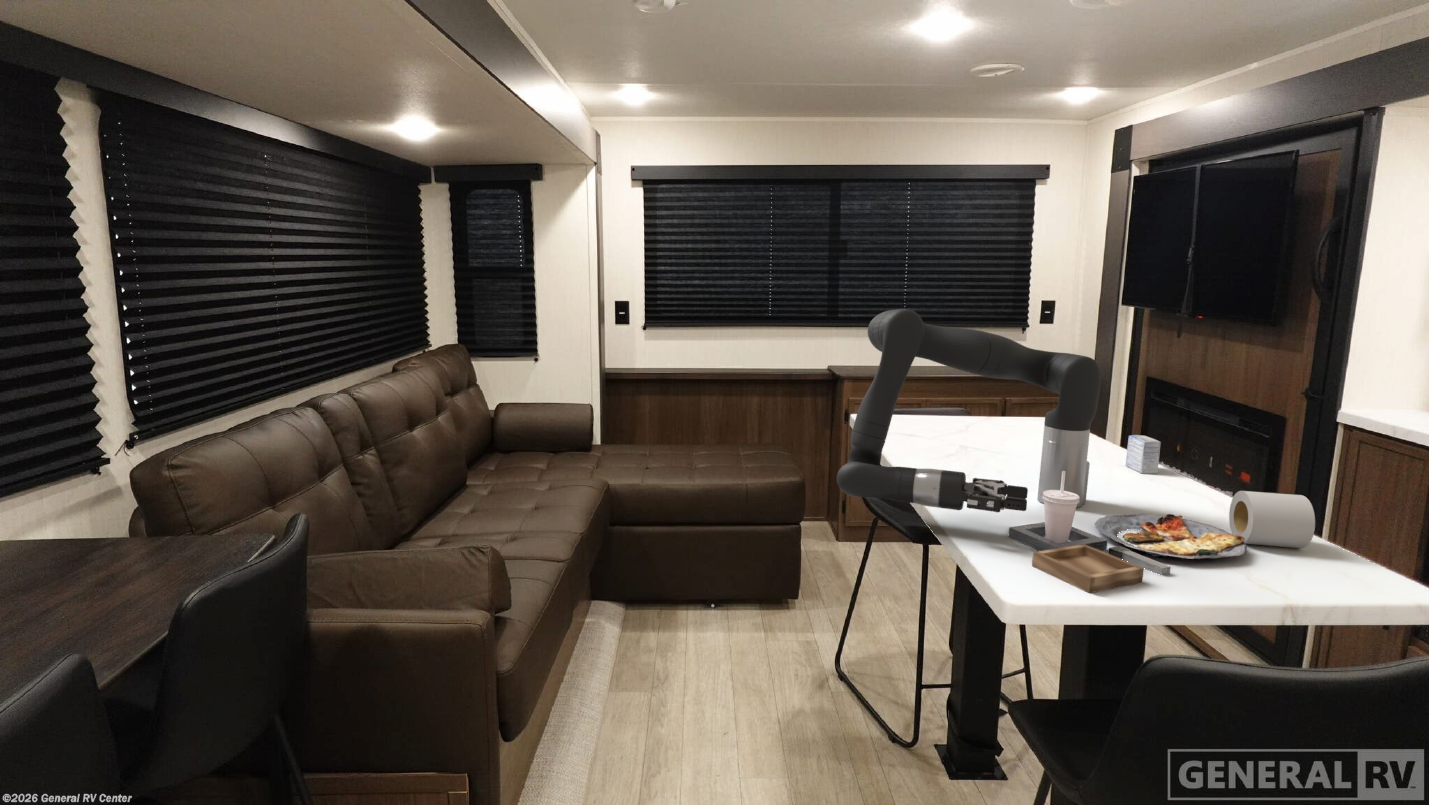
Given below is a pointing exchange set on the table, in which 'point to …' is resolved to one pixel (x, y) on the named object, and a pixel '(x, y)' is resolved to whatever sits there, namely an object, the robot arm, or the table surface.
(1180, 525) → the food plate
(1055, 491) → the smoothie
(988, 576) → the table surface
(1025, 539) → the socket
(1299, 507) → the toilet paper
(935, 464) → the table surface
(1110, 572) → the tray
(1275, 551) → the table surface
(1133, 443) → the medicine box
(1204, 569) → the table surface
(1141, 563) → the bar
